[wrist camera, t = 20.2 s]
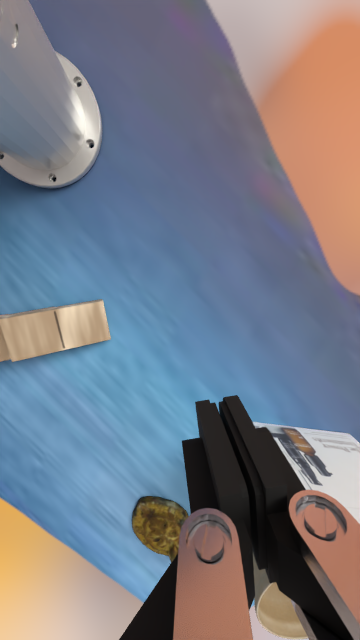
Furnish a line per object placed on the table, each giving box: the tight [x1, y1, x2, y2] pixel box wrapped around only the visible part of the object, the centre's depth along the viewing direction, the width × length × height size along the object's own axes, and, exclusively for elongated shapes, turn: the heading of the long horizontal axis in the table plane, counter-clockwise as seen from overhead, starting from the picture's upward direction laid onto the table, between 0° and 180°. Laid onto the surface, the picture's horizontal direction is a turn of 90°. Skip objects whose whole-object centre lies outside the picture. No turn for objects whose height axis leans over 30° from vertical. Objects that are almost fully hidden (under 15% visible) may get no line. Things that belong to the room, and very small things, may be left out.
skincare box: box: [253, 422, 360, 524], centre depth 33 cm, size 21×5×16 cm, turn 79°
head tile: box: [0, 299, 111, 362], centre depth 30 cm, size 2×5×11 cm
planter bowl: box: [253, 554, 308, 639], centre depth 40 cm, size 16×16×11 cm
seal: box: [132, 496, 189, 563], centre depth 42 cm, size 9×5×15 cm
